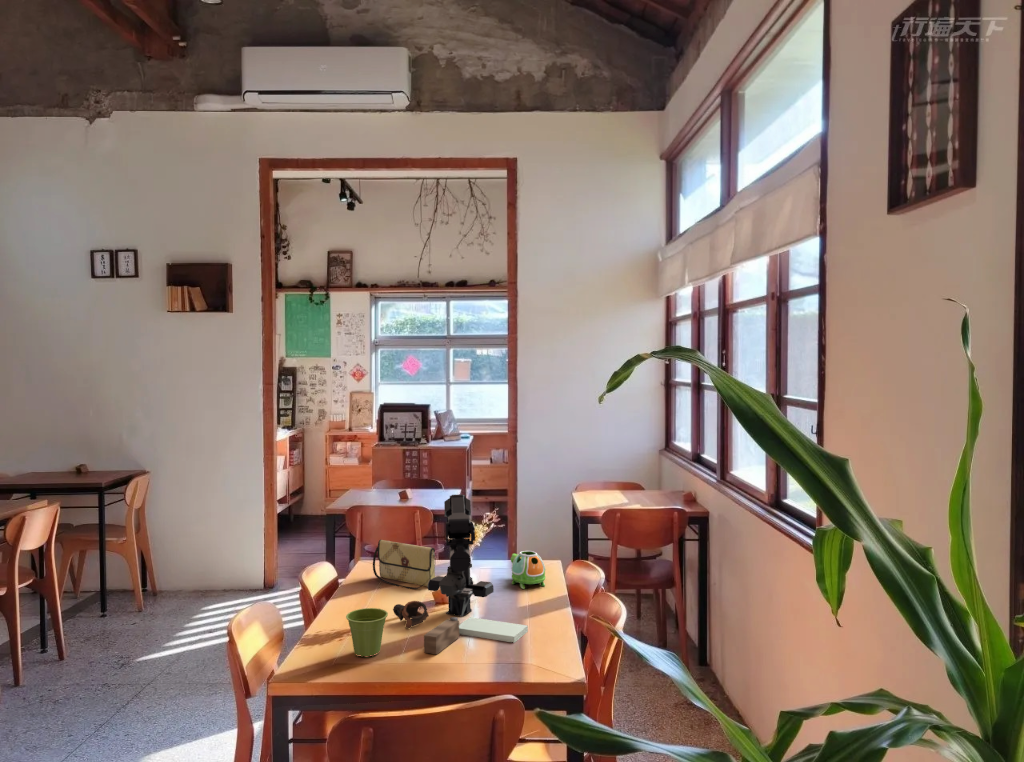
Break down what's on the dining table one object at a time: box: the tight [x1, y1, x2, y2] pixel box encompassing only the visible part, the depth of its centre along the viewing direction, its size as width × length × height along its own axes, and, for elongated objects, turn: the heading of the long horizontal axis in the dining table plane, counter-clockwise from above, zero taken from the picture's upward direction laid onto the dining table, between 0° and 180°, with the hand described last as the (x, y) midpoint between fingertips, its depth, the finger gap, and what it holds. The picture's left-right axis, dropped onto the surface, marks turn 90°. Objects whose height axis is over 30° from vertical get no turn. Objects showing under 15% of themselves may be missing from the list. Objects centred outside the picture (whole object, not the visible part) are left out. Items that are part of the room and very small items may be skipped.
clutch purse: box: [372, 539, 437, 590], centre depth 277 cm, size 30×7×15 cm, turn 57°
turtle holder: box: [510, 550, 546, 590], centre depth 276 cm, size 12×18×12 cm
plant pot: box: [345, 607, 389, 657], centre depth 211 cm, size 12×12×11 cm
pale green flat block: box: [459, 616, 529, 644], centre depth 226 cm, size 20×10×2 cm, turn 65°
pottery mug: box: [392, 600, 430, 629], centre depth 234 cm, size 12×10×8 cm
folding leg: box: [423, 616, 460, 655], centre depth 217 cm, size 16×4×5 cm, turn 157°
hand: (460, 616), depth 210 cm, fingers closed
